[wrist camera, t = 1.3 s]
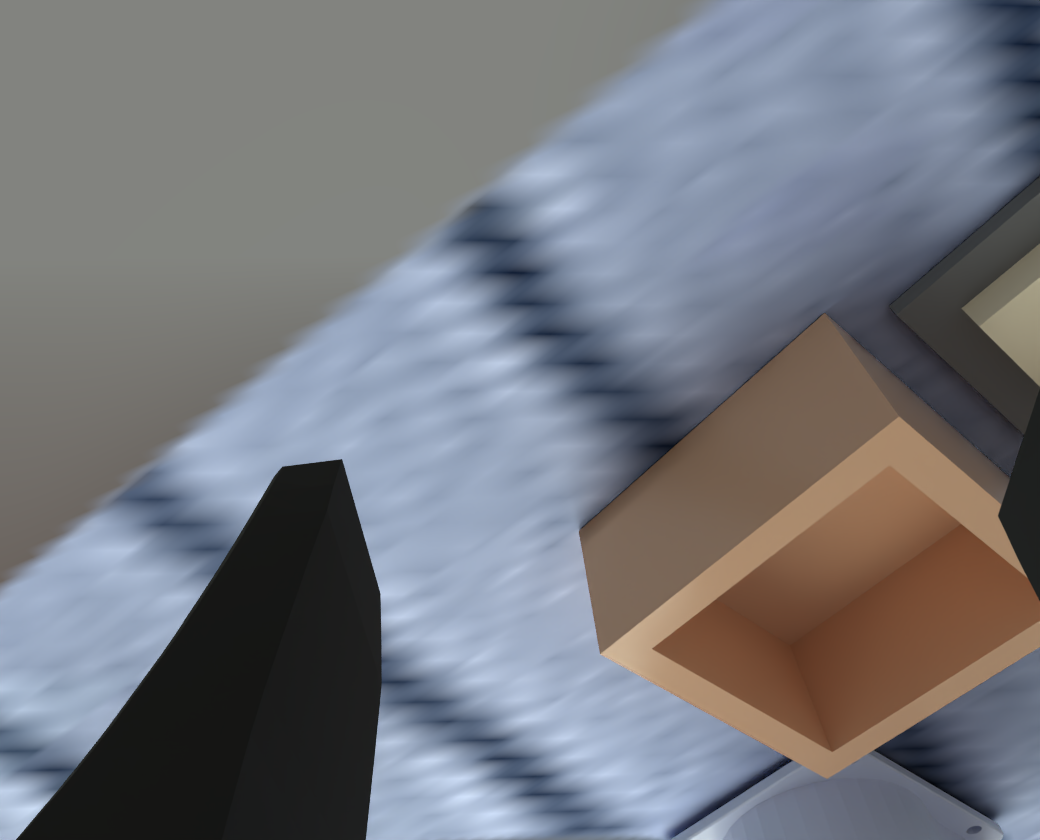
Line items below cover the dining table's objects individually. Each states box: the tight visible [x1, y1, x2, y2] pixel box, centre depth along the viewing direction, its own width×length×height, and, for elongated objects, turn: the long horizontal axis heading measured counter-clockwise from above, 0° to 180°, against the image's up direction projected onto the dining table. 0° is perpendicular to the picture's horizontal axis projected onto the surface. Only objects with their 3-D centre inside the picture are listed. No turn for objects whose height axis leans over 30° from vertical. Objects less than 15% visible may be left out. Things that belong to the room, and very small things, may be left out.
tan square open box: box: [579, 313, 1040, 779], centre depth 21 cm, size 8×8×4 cm
